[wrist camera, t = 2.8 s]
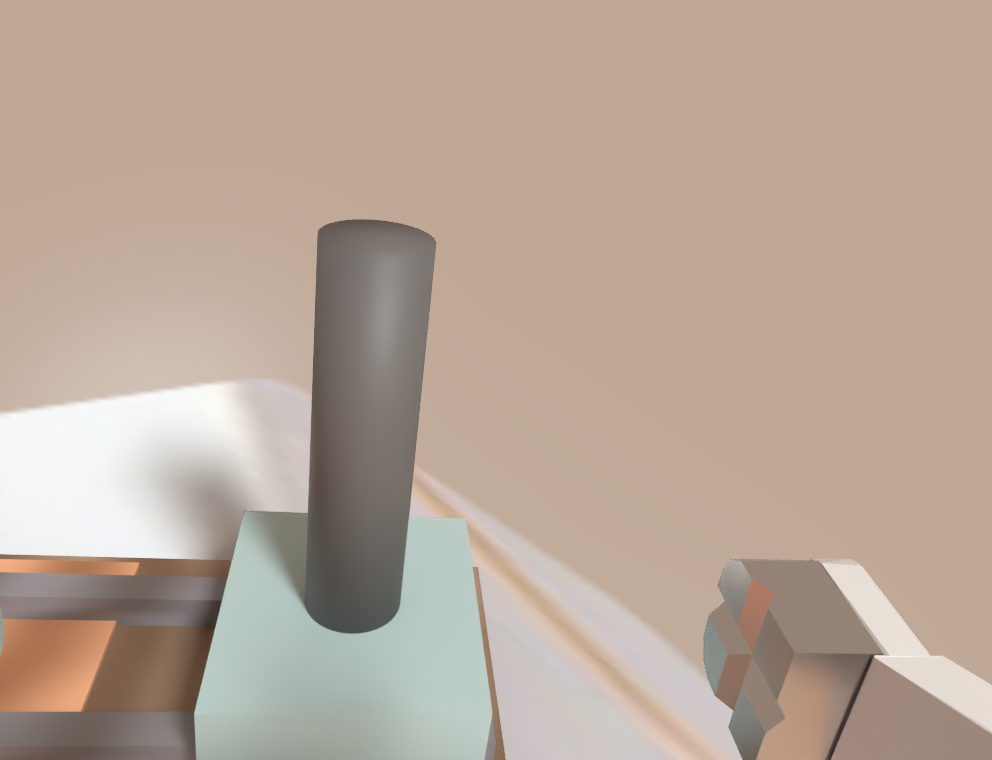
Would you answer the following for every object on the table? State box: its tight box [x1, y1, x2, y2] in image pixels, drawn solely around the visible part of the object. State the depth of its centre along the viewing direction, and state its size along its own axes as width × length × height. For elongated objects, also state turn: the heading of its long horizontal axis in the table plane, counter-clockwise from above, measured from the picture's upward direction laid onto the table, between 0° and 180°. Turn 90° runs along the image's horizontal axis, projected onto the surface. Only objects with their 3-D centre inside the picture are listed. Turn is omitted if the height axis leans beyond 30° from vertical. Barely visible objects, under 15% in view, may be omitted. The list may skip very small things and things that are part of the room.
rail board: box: [0, 554, 506, 760], centre depth 27 cm, size 26×12×4 cm, turn 97°
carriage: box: [194, 220, 492, 760], centre depth 25 cm, size 8×9×14 cm
